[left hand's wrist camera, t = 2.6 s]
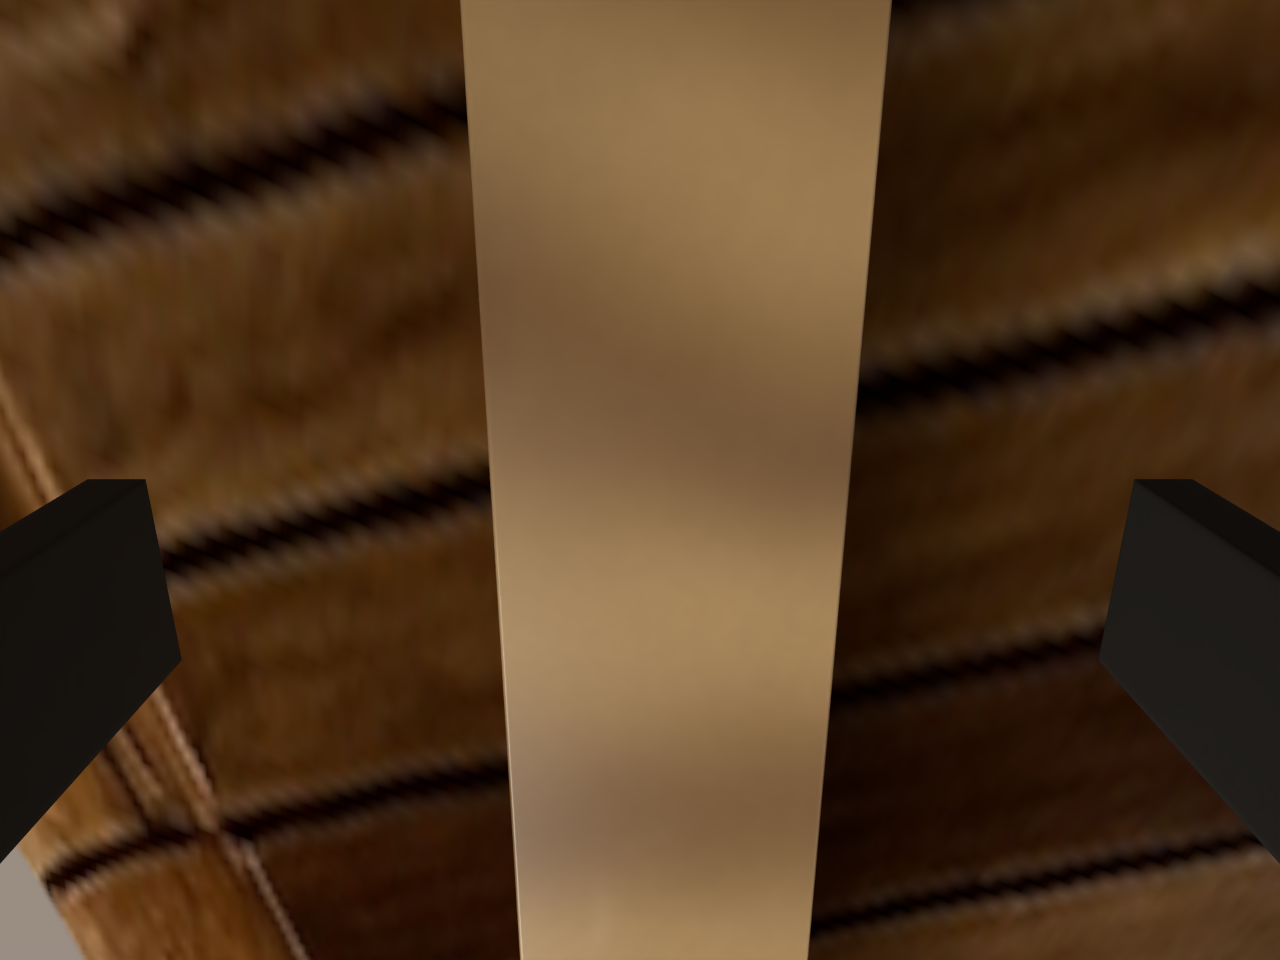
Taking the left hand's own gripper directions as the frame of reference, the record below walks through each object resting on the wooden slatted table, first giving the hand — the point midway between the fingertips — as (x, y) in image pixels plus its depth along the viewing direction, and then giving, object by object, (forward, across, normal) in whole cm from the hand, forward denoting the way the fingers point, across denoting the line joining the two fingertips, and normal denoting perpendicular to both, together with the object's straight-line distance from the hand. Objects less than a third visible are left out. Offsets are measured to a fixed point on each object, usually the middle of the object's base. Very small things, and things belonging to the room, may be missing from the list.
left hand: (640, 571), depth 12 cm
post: (+11, +1, -21) cm, 24 cm away
